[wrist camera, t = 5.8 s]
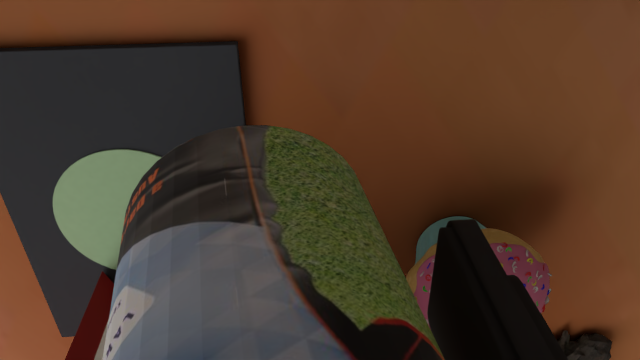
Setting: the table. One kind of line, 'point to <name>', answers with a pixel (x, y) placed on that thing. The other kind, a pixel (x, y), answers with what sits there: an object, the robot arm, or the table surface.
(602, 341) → the wood
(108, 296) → the book
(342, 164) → the beverage can
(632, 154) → the table surface
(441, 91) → the table surface
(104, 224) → the desk mat
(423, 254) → the cupcake
